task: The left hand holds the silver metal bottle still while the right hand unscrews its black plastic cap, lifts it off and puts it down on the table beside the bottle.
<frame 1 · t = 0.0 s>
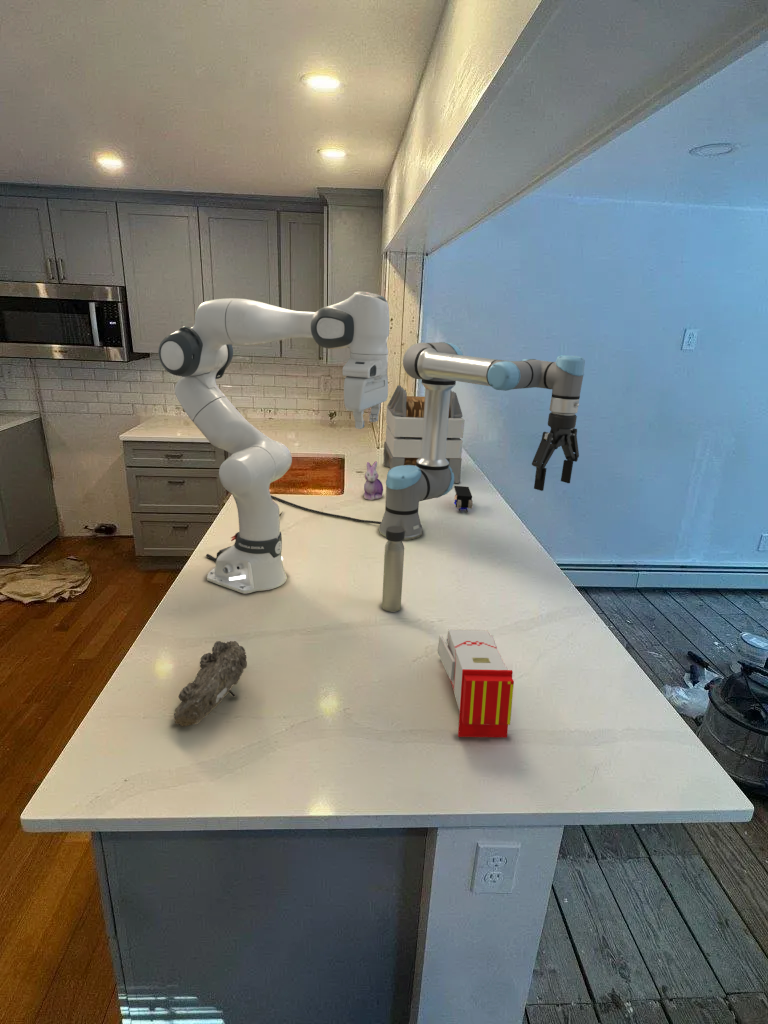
left hand: (366, 424, 137), 48 cm above the counter, tool pointing down, fingers open, 8 cm apart
right hand: (552, 485, 166), 28 cm above the counter, tool pointing down, fingers open, 13 cm apart
feather: (280, 515, 212), on the counter
cap: (395, 530, 143), point 22 cm above the counter, screwed on, not yet turned
fossil: (216, 694, 114), on the counter
toy: (469, 691, 119), on the counter
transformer: (419, 473, 275), on the counter
bottle: (391, 607, 151), on the counter
figurine: (372, 497, 237), on the counter
figurine character: (461, 508, 229), on the counter
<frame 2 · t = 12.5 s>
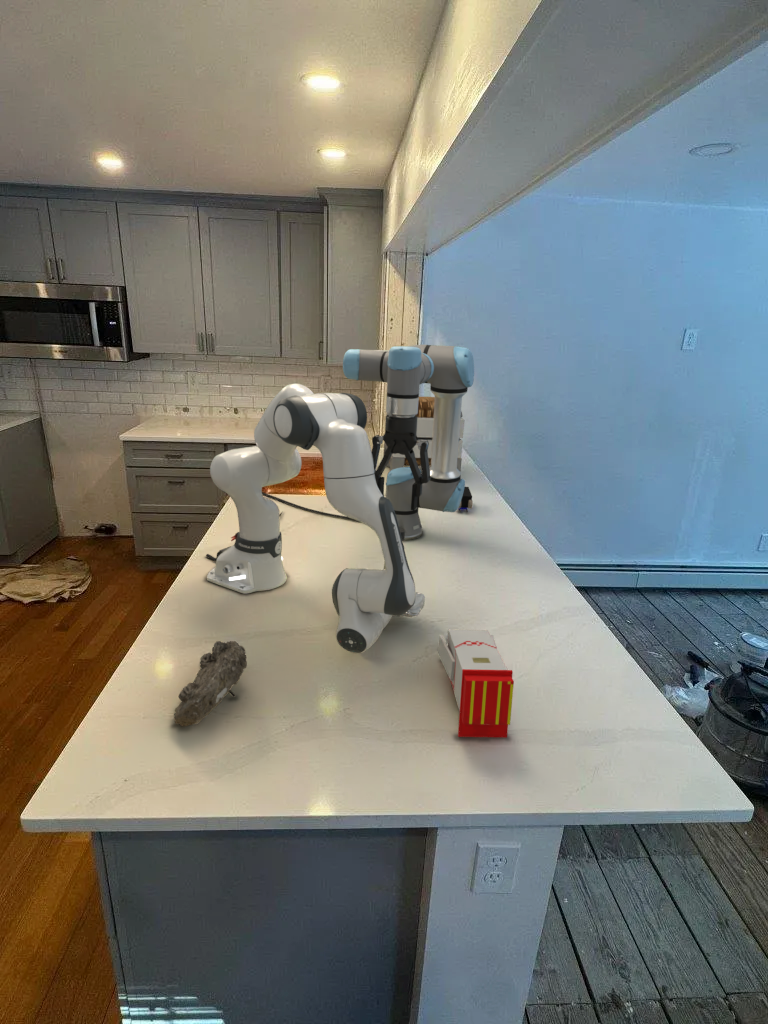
left hand: (393, 584, 149), 6 cm above the counter, tool horizontal, fingers closed on bottle, 5 cm apart
right hand: (396, 505, 141), 29 cm above the counter, tool pointing down, fingers open, 8 cm apart
bottle: (391, 607, 151), on the counter, touching left hand
everything else where it was.
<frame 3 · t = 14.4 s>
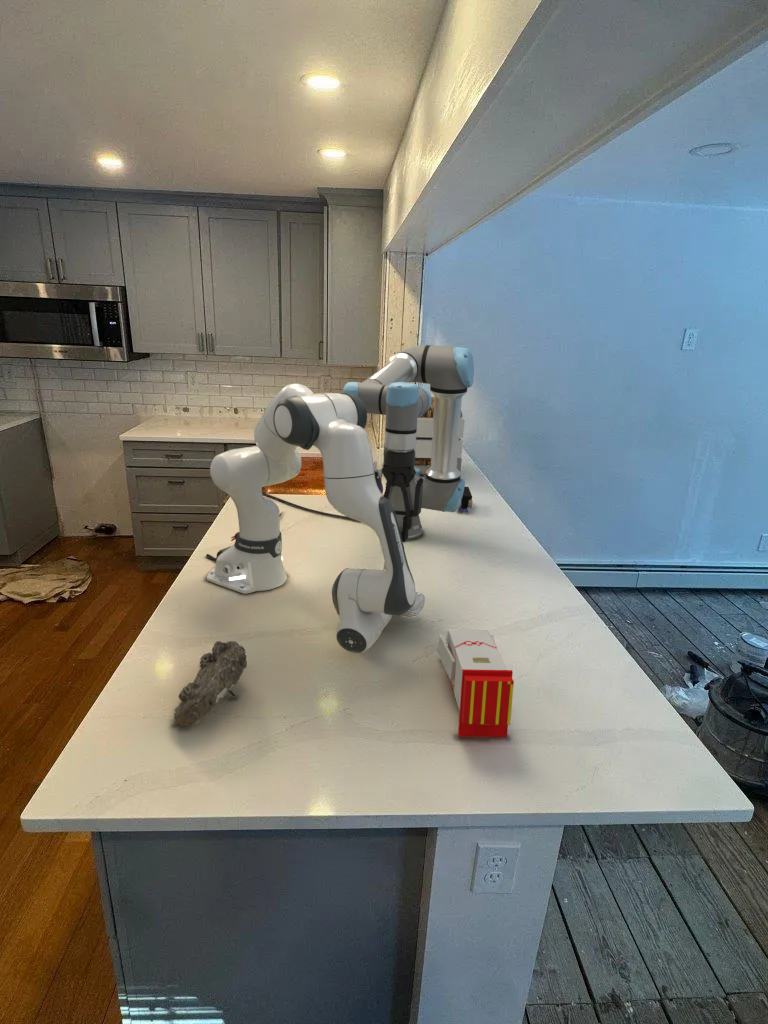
left hand: (393, 584, 149), 6 cm above the counter, tool horizontal, fingers closed on bottle, 5 cm apart
right hand: (395, 538, 144), 20 cm above the counter, tool pointing down, fingers closed on cap, 4 cm apart
cap: (395, 530, 143), point 22 cm above the counter, screwed on, not yet turned, touching right hand
bottle: (391, 607, 151), on the counter, touching left hand
everything else where it was.
when the right hand's fingers open (2 cm above the counter, at t = 30.1 s): cap drops 2 cm, point 2 cm above the counter.
when the left hand's fingers open (6 cm above the counter, at t = 31.3 s): bottle stays where it is, on the counter.
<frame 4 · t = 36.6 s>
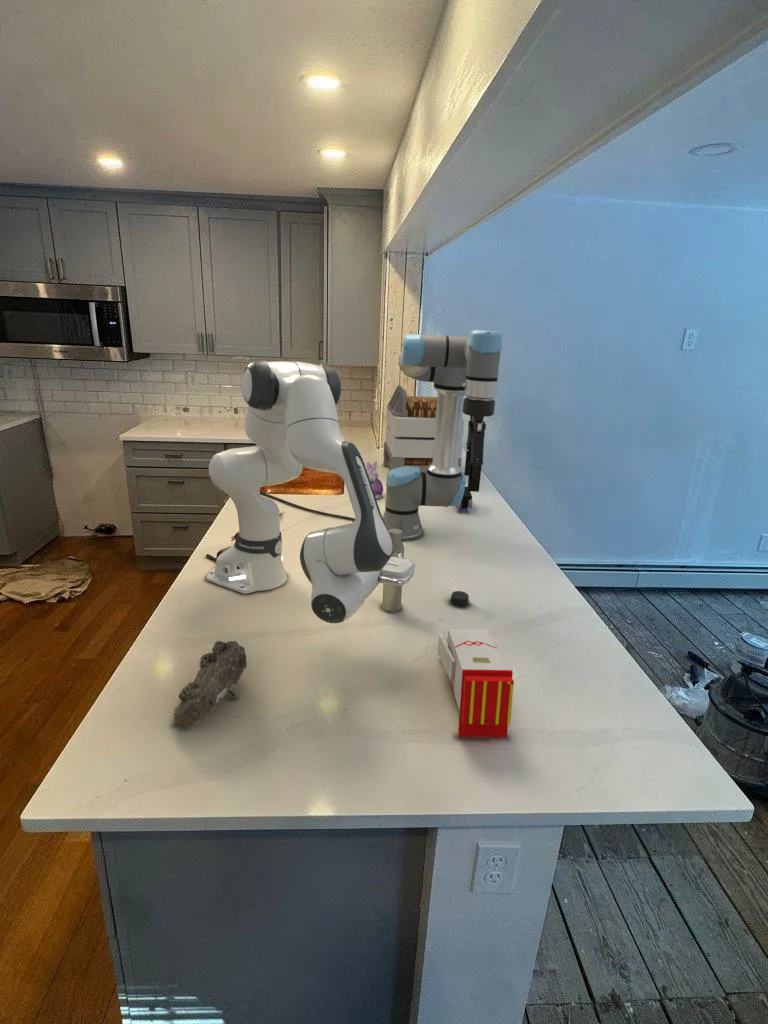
left hand: (380, 552, 134), 21 cm above the counter, tool horizontal, fingers open, 8 cm apart
right hand: (471, 483, 143), 34 cm above the counter, tool pointing down, fingers open, 13 cm apart
cap: (459, 596, 154), point 2 cm above the counter, off its thread
bottle: (391, 607, 151), on the counter
everything else where it was.
at the end: cap came off its thread; cap point 2.1 cm above the counter; the left hand is holding nothing; the right hand is holding nothing; bottle tilted 0°; bottle moved 0.0 cm from its start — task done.
